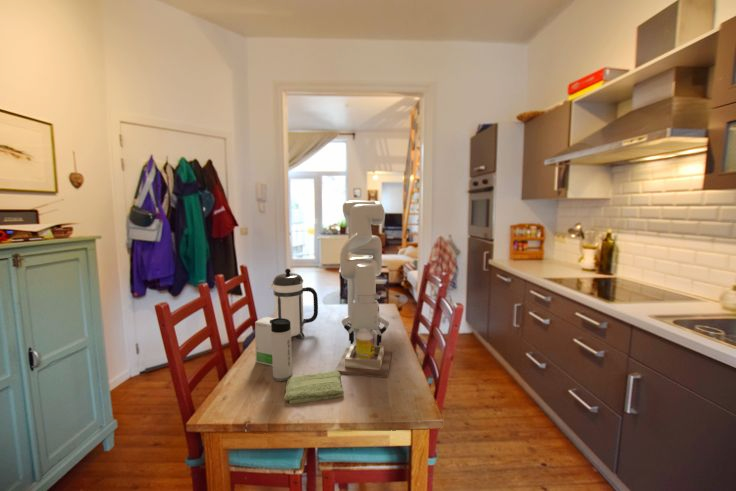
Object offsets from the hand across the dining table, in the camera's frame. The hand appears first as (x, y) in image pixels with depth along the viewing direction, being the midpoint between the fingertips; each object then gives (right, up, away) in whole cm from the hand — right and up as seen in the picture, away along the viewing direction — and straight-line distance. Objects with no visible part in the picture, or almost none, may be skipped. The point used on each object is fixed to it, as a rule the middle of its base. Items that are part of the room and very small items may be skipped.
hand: (365, 343), depth 118 cm
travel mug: (-28, -9, -9) cm, 30 cm away
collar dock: (0, -7, +1) cm, 7 cm away
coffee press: (-32, -4, +26) cm, 42 cm away
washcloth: (-16, -10, -16) cm, 25 cm away
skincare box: (-35, -7, +2) cm, 36 cm away
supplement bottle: (0, -6, +1) cm, 7 cm away
